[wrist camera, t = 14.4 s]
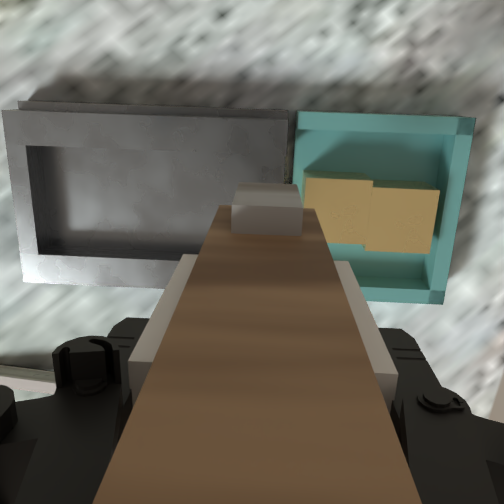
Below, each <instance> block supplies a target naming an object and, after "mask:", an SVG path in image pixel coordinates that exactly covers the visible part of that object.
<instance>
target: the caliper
mask: <svg viewBox="0 0 504 504" xmlns="http://www.w3.org/2000/svg"><path fill="white" fill-rule="evenodd" d="M0 385H5V386H8V387H9V388H12V389H19V390H26V391H34V392H41V393H48V394H54V393H55V390H56V382H55V374H54V371H47V370H39V369H32V368H24V367H17V366H9V365H2V364H0Z"/></svg>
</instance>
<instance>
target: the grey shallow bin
mask: <svg viewBox="0 0 504 504" xmlns="http://www.w3.org/2000/svg"><path fill="white" fill-rule="evenodd" d="M18 108H19V109H13V110H2V118H3V126H4V133H5V141H6V149H7V157H8V164H9V172H10V180H11V188H12V195H13V203H14V211H15V219H16V226H17V234H18V242H19V250H20V257H21V265H22V273H23V281H24V282H29V283H51V284H72V285H93V286H115V287H136V288H157V289H165V288H166V286H167V285H168V283H169V281H170V279H171V277H172V275H173V273H174V271H175V269H176V267H177V265H178V263H179V261H180V259H181V258H182V256H183V254H193V255H198V254H199V252H200V250H201V247H202V245H203V243H204V240H205V238H206V236H207V233H208V231H209V229H210V226H211V224H212V222H213V219H214V217H215V215H216V212H217V210H218V208H219V205H232V202H233V199H234V196H235V193H236V190H237V187H238V184H239V182H250V183H276V184H284V171H285V155H286V154H287V136H288V119H287V116H288V110H272V109H244V108H216V107H189V106H161V105H133V104H105V103H77V102H49V101H18Z"/></svg>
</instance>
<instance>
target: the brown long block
mask: <svg viewBox="0 0 504 504" xmlns="http://www.w3.org/2000/svg"><path fill="white" fill-rule="evenodd" d="M92 504H422V502H421V500H420V497H419V494H418V491H417V489H416V486H415V483H414V480H413V478H412V475H411V472H410V469H409V467H408V464H407V461H406V458H405V456H404V453H403V450H402V447H401V445H400V442H399V439H398V437H397V434H396V431H395V428H394V426H393V423H392V420H391V417H390V415H389V412H388V409H387V406H386V404H385V401H384V398H383V395H382V393H381V390H380V387H379V384H378V382H377V379H376V376H375V373H374V371H373V368H372V365H371V362H370V360H369V357H368V354H367V351H366V349H365V346H364V343H363V340H362V338H361V335H360V332H359V329H358V327H357V324H356V321H355V318H354V316H353V313H352V310H351V308H350V305H349V302H348V299H347V297H346V294H345V291H344V288H343V286H342V283H341V280H340V277H339V275H338V272H337V269H336V266H335V264H334V261H333V258H332V255H331V253H330V250H329V247H328V244H327V242H326V239H325V236H324V233H323V231H322V228H321V225H320V222H319V220H318V217H317V214H316V211H315V209H313V208H303V205H302V201H301V197H300V194H299V190H298V186H297V184H276V183H250V182H239V184H238V187H237V190H236V193H235V196H234V199H233V202H232V205H219V208H218V210H217V212H216V215H215V217H214V219H213V222H212V224H211V226H210V229H209V231H208V233H207V236H206V238H205V240H204V243H203V245H202V247H201V250H200V252H199V254H198V257H197V259H196V261H195V264H194V266H193V269H192V271H191V273H190V276H189V278H188V280H187V283H186V285H185V287H184V290H183V292H182V294H181V297H180V299H179V301H178V304H177V306H176V308H175V311H174V313H173V315H172V318H171V320H170V322H169V325H168V327H167V330H166V332H165V334H164V337H163V339H162V341H161V344H160V346H159V348H158V351H157V353H156V355H155V358H154V360H153V362H152V365H151V367H150V369H149V372H148V374H147V376H146V379H145V381H144V383H143V386H142V388H141V391H140V393H139V395H138V398H137V400H136V402H135V405H134V407H133V409H132V412H131V414H130V416H129V419H128V421H127V423H126V426H125V428H124V430H123V433H122V435H121V437H120V440H119V442H118V444H117V447H116V449H115V452H114V454H113V456H112V459H111V461H110V463H109V466H108V468H107V470H106V473H105V475H104V477H103V480H102V482H101V484H100V487H99V489H98V491H97V494H96V496H95V498H94V501H93V503H92Z"/></svg>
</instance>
